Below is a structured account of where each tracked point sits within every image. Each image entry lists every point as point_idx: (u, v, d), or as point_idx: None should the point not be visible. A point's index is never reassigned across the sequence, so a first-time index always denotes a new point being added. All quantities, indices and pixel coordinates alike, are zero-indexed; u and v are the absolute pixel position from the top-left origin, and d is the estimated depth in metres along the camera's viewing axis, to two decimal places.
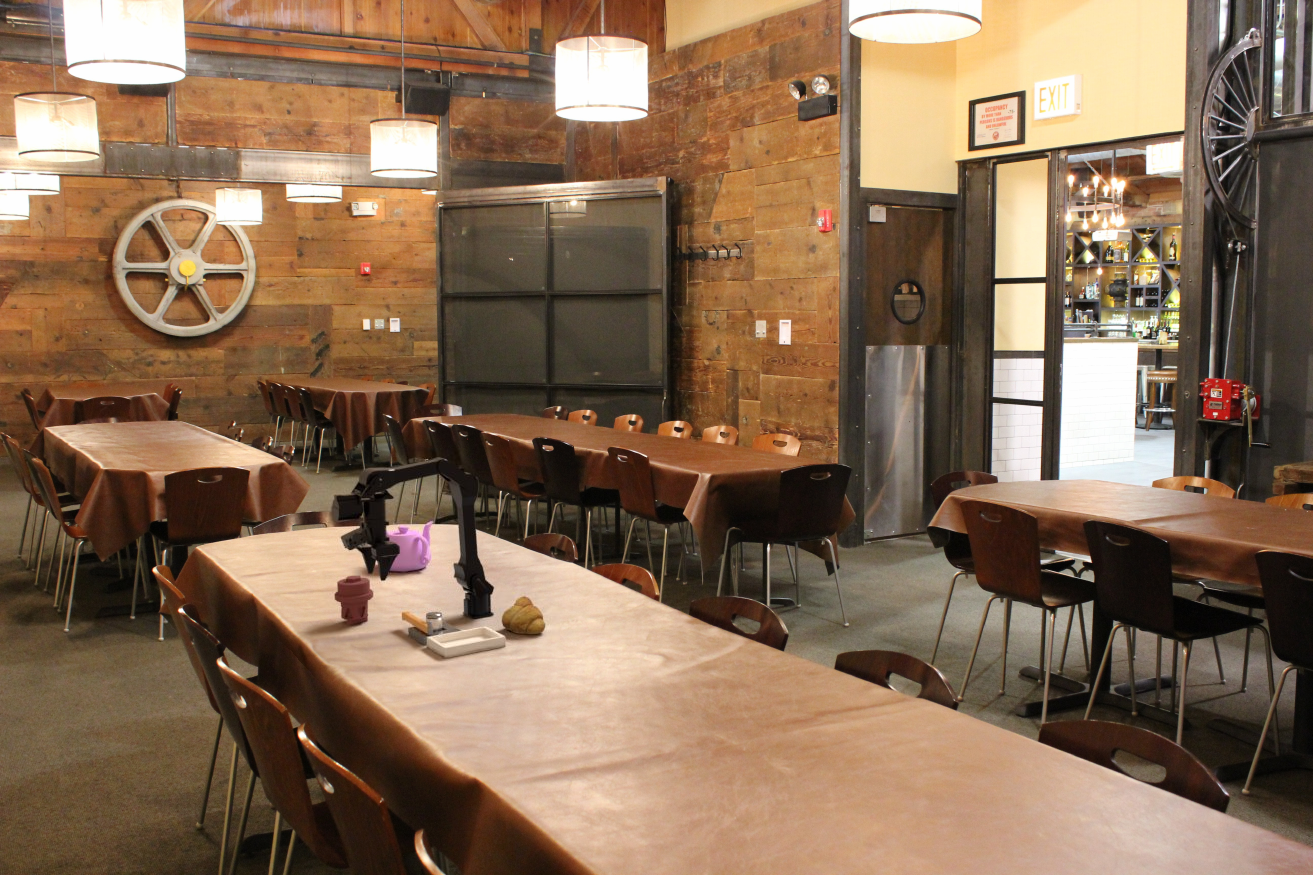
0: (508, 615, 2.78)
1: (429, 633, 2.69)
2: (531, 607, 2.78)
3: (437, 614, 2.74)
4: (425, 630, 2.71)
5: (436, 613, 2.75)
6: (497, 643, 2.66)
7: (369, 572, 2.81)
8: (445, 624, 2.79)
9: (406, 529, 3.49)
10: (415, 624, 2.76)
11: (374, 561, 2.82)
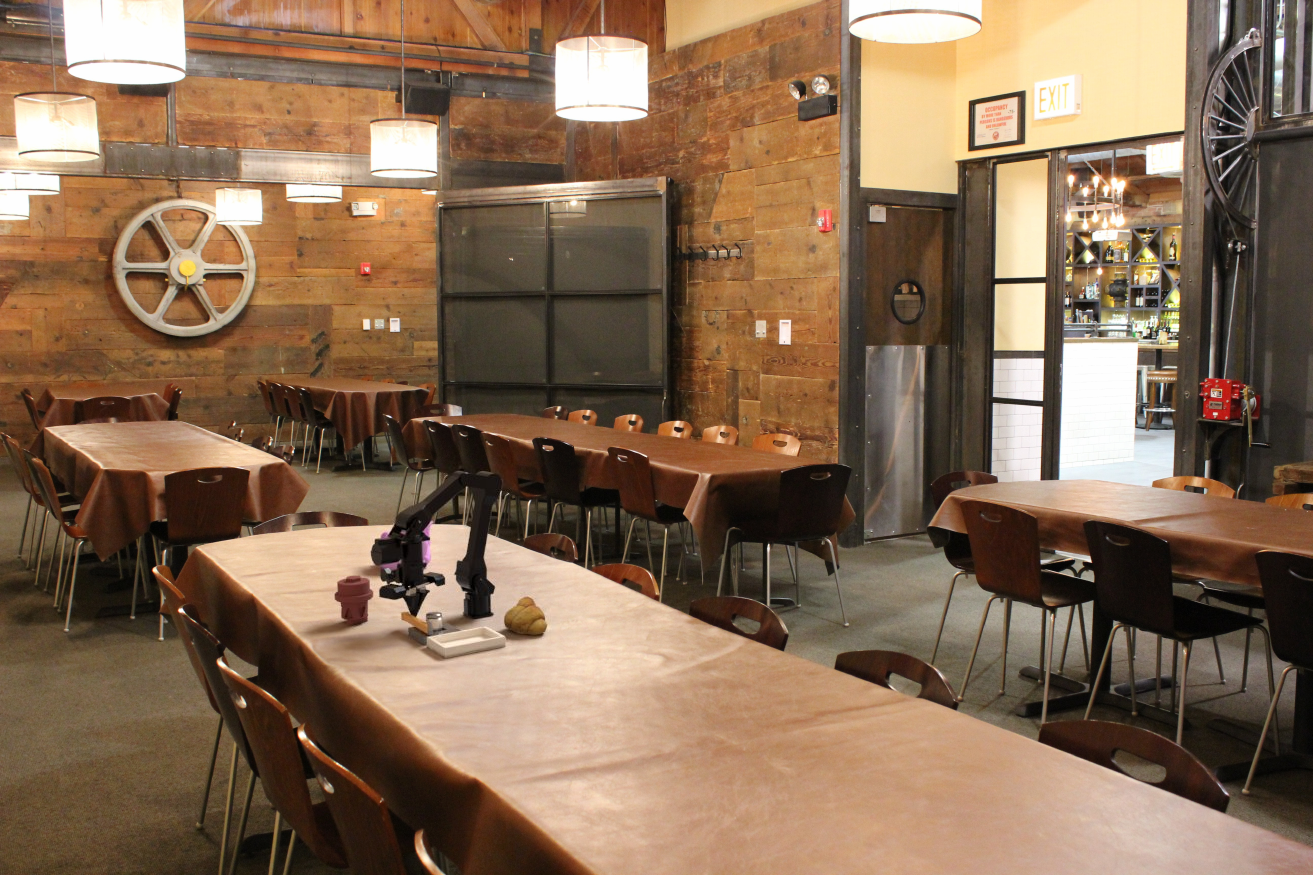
0: (510, 615, 2.78)
1: (429, 633, 2.69)
2: (533, 607, 2.78)
3: (437, 614, 2.74)
4: (425, 630, 2.71)
5: (436, 613, 2.75)
6: (497, 643, 2.66)
7: None
8: (445, 624, 2.79)
9: None
10: (415, 624, 2.76)
11: None
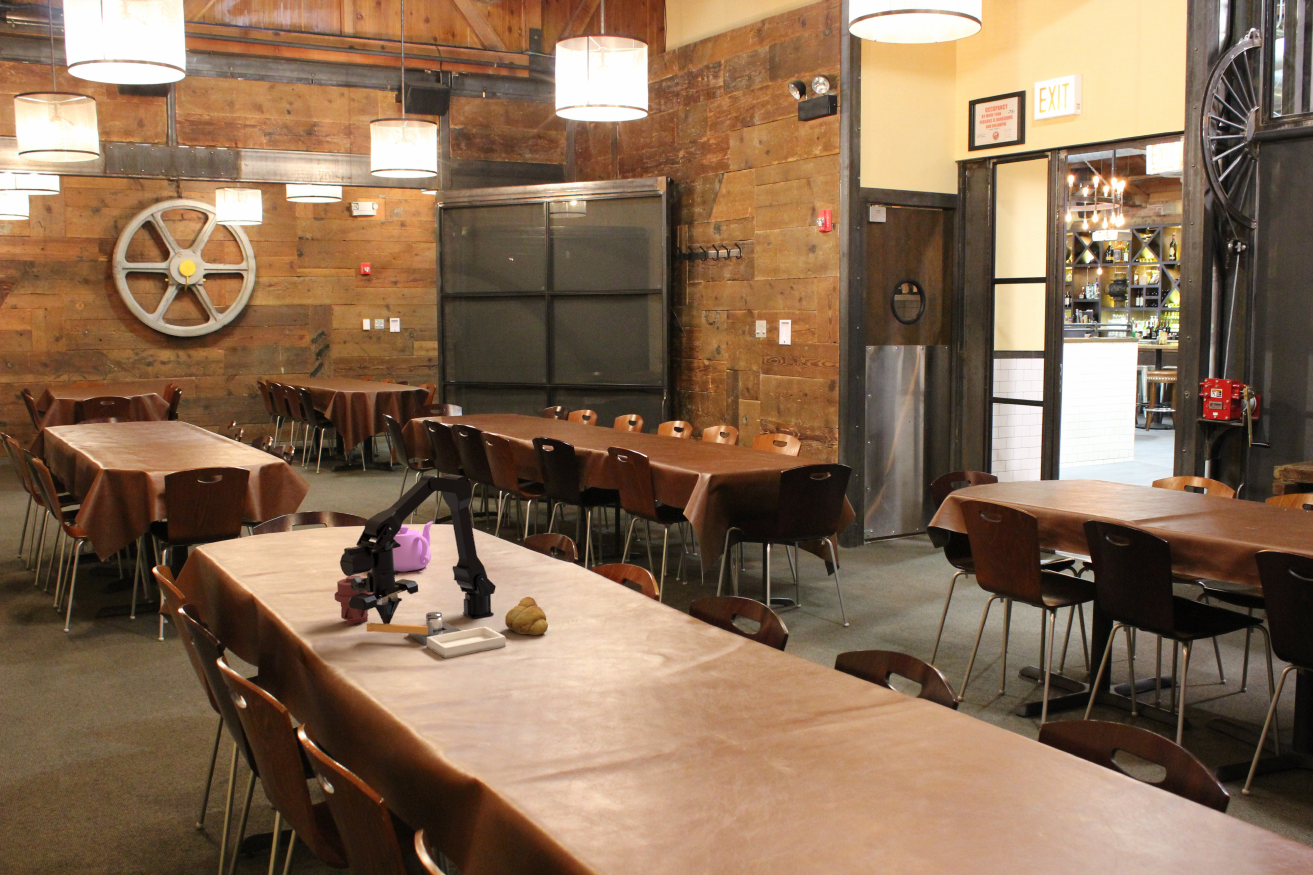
0: (511, 615, 2.78)
1: (431, 632, 2.69)
2: (534, 607, 2.78)
3: (437, 614, 2.74)
4: (423, 631, 2.69)
5: (436, 613, 2.75)
6: (497, 643, 2.66)
7: None
8: (445, 624, 2.79)
9: (406, 529, 3.49)
10: (399, 630, 2.71)
11: None
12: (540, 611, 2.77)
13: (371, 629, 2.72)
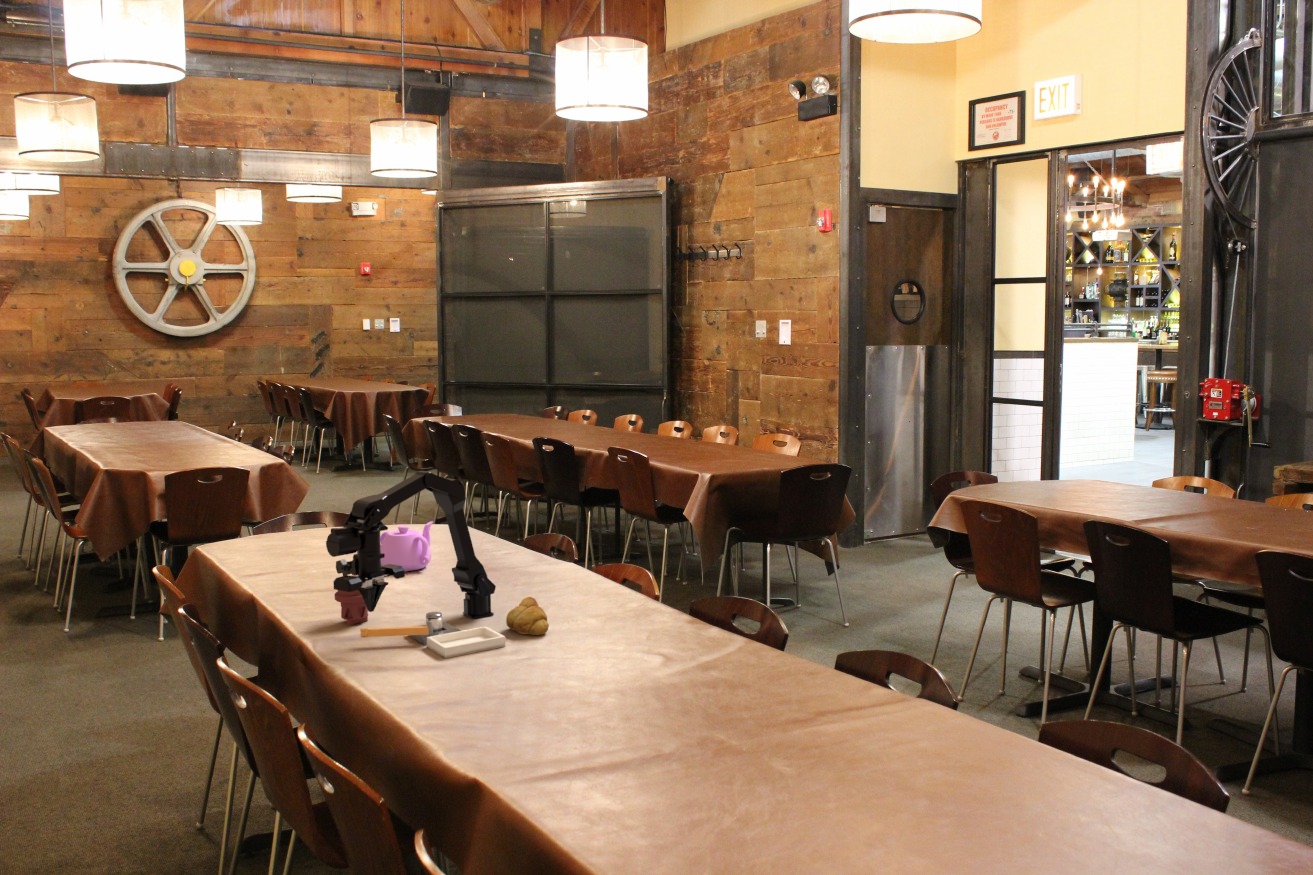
0: (512, 615, 2.78)
1: (432, 632, 2.69)
2: (535, 608, 2.77)
3: (437, 614, 2.74)
4: (423, 632, 2.69)
5: (436, 613, 2.75)
6: (497, 643, 2.66)
7: None
8: (445, 624, 2.79)
9: (406, 529, 3.49)
10: (397, 633, 2.68)
11: (374, 599, 2.68)
12: (541, 611, 2.77)
13: (366, 635, 2.67)
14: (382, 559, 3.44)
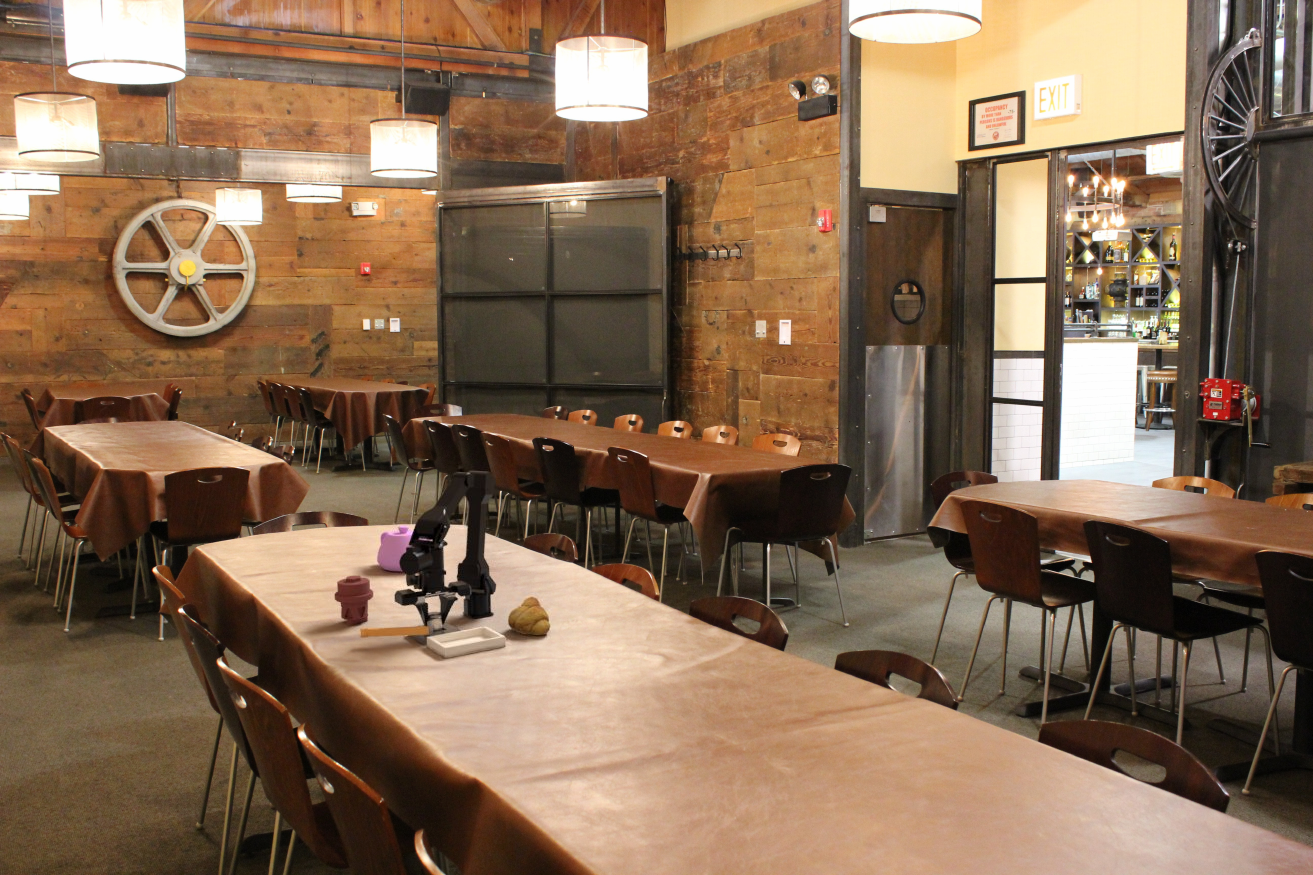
0: (513, 615, 2.78)
1: (432, 632, 2.69)
2: (536, 608, 2.77)
3: (437, 614, 2.74)
4: (423, 632, 2.69)
5: (436, 613, 2.75)
6: (497, 643, 2.66)
7: None
8: (445, 624, 2.79)
9: (406, 529, 3.49)
10: (397, 633, 2.68)
11: (443, 613, 2.75)
12: (542, 611, 2.77)
13: (366, 635, 2.67)
14: (382, 559, 3.44)
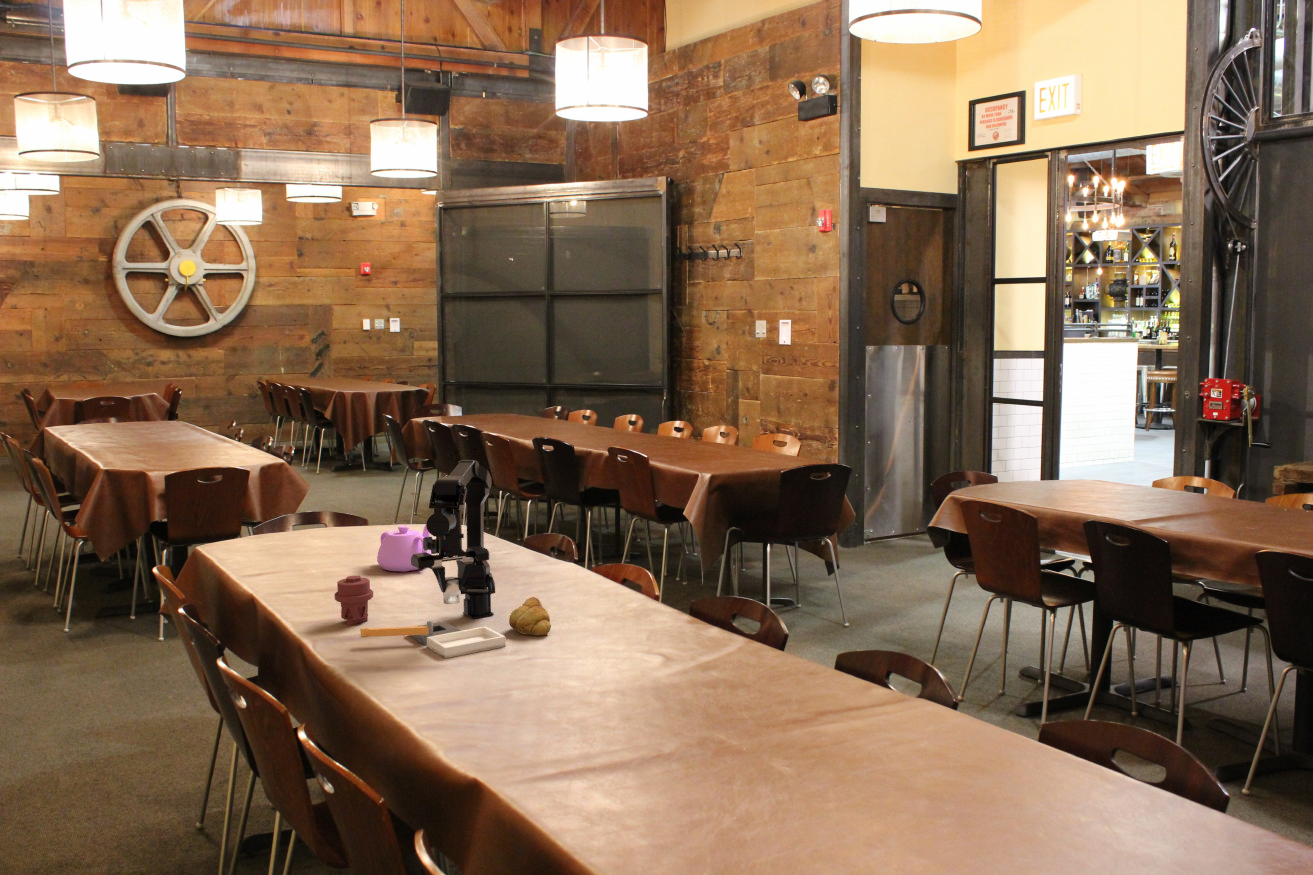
0: (514, 615, 2.78)
1: (432, 632, 2.69)
2: (537, 608, 2.77)
3: (454, 579, 2.68)
4: (423, 632, 2.69)
5: (453, 578, 2.69)
6: (497, 643, 2.66)
7: None
8: (445, 624, 2.79)
9: (406, 529, 3.49)
10: (397, 633, 2.68)
11: (461, 578, 2.68)
12: (543, 612, 2.77)
13: (366, 635, 2.67)
14: (382, 559, 3.44)
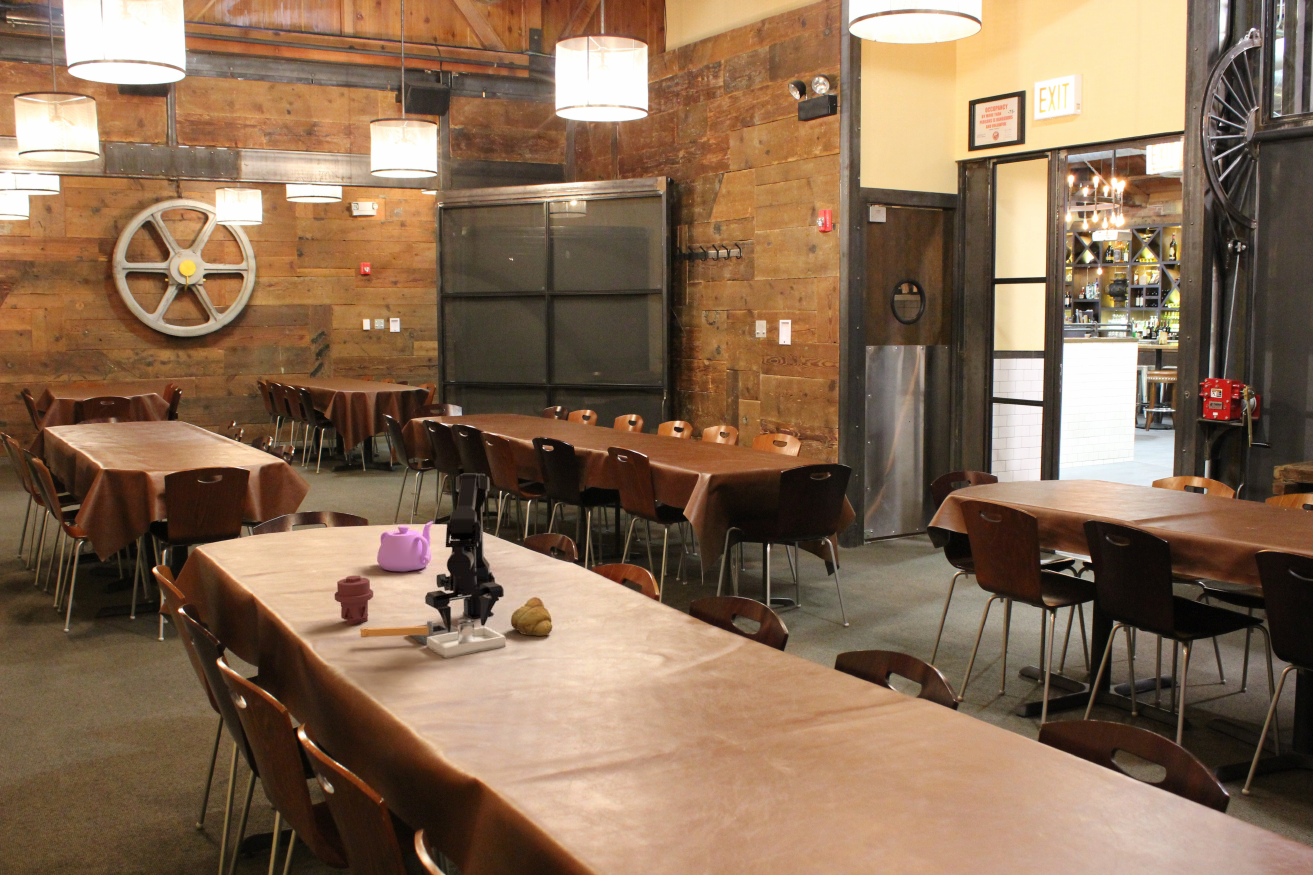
0: (516, 615, 2.77)
1: (432, 632, 2.69)
2: (538, 608, 2.77)
3: (469, 621, 2.66)
4: (423, 632, 2.69)
5: (468, 620, 2.67)
6: (497, 643, 2.66)
7: (481, 623, 2.69)
8: None
9: (406, 529, 3.49)
10: (397, 633, 2.68)
11: (484, 614, 2.68)
12: (545, 612, 2.77)
13: (366, 635, 2.67)
14: (382, 559, 3.44)
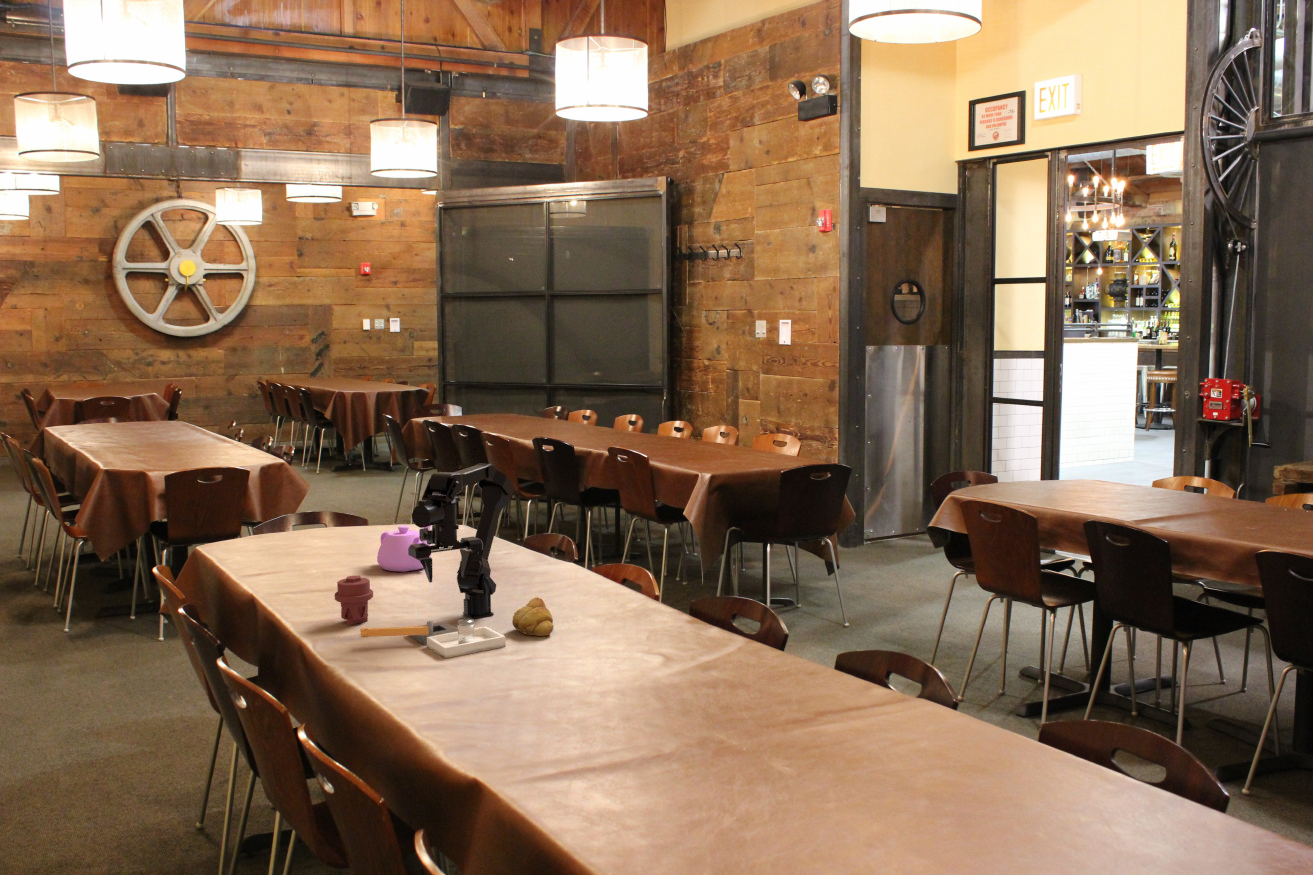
0: (517, 615, 2.77)
1: (432, 632, 2.69)
2: (540, 608, 2.77)
3: (469, 621, 2.66)
4: (423, 632, 2.69)
5: (468, 620, 2.67)
6: (497, 643, 2.66)
7: (462, 575, 2.84)
8: (445, 624, 2.79)
9: (406, 529, 3.49)
10: (397, 633, 2.68)
11: (464, 566, 2.83)
12: (546, 612, 2.76)
13: (366, 635, 2.67)
14: (382, 559, 3.44)
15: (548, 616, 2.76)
